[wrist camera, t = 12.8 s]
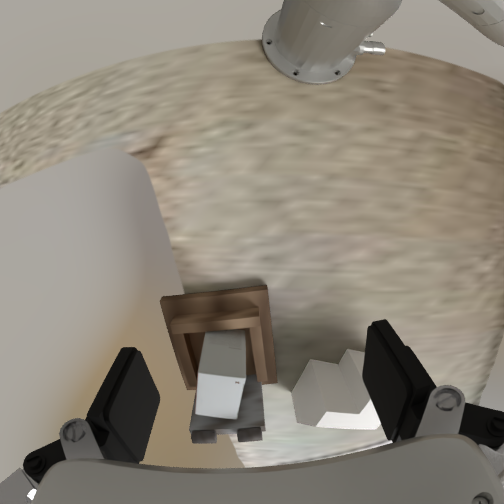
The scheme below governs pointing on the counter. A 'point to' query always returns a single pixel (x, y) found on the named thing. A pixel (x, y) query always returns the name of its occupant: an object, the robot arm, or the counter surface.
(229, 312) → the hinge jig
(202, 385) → the small box
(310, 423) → the corner bracket
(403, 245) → the counter surface
